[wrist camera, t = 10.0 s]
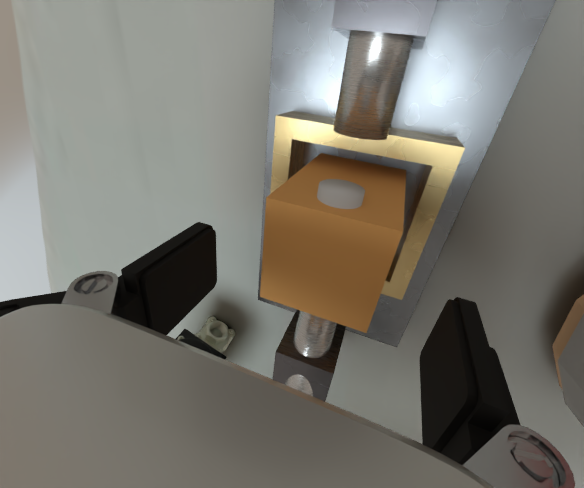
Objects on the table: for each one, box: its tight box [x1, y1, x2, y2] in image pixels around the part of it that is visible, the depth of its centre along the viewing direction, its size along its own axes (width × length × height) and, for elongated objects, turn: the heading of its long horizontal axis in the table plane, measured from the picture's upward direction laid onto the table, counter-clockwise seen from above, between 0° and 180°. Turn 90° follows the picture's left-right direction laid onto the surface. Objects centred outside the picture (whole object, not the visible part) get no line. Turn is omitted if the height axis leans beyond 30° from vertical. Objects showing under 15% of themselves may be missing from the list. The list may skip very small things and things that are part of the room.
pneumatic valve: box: [176, 317, 235, 359], centre depth 28 cm, size 6×12×12 cm, turn 153°
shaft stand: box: [258, 0, 556, 401], centre depth 16 cm, size 25×12×10 cm, turn 174°
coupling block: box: [260, 153, 406, 333], centre depth 15 cm, size 6×5×8 cm
